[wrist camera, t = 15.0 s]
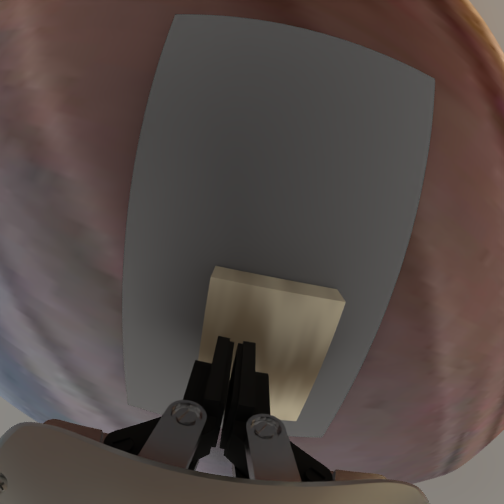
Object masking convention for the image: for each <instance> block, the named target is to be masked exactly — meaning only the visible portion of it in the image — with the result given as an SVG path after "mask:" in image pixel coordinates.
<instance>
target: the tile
mask: <svg viewBox="0 0 504 504" xmlns="http://www.w3.org/2000/svg"><path fill="white" fill-rule="evenodd" d="M345 303H346V302H345V300H344V299H343V297H342V296H341V294H340V293H339V291H338V290H337V289H333V288H328V287H322V286H317V285H311V284H306V283H301V282H295V281H290V280H285V279H280V278H275V277H269V276H264V275H259V274H254V273H249V272H244V271H239V270H234V269H229V268H224V267H219V266H215V268H214V270H213V273H212V275H211V278H210V284H209V290H208V296H207V303H206V309H205V316H204V322H203V329H202V336H201V343H200V350H199V358H198V361H203V362H207V363H212V360H213V356H214V351H215V347H216V343H217V339H218V336H222V337H227V338H230V341H231V342H234V349H233V357H232V364H231V371H232V367H233V363H234V358H235V354H236V350H237V345H238V343H241V344H243V341H248V342H253V343H256V365H255V372H262V373H268V375H269V394H270V415H272V416H275V417H276V418H278V419H280V420H287V421H297V419H298V417H299V415H300V413H301V410H302V408H303V406H304V404H305V402H306V400H307V398H308V396H309V393H310V391H311V389H312V387H313V384H314V382H315V380H316V378H317V375H318V373H319V371H320V368H321V366H322V364H323V361H324V359H325V356H326V354H327V351H328V349H329V346H330V344H331V341H332V339H333V336H334V333H335V331H336V328H337V325H338V323H339V320H340V317H341V314H342V312H343V309H344V306H345ZM230 376H231V372H230ZM229 380H230V379H229Z"/></svg>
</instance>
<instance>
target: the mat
mask: <svg viewBox="0 0 504 504" xmlns="http://www.w3.org/2000/svg"><path fill="white" fill-rule="evenodd" d="M434 92H435V79H434V78H432V77H430V76H428V75H426V74H424V73H423V72H421V71H419V70H417V69H415V68H413V67H411V66H408V65H406V64H404V63H402V62H400V61H398V60H396V59H393V58H391V57H389V56H386V55H384V54H381V53H379V52H377V51H374V50H371V49H369V48H366V47H363V46H361V45H358V44H355V43H352V42H349V41H346V40H343V39H340V38H337V37H333V36H330V35H327V34H323V33H319V32H316V31H312V30H308V29H304V28H299V27H295V26H290V25H285V24H280V23H275V22H269V21H263V20H256V19H249V18H240V17H230V16H218V15H195V14H175V17H174V19H173V22H172V25H171V27H170V30H169V33H168V36H167V38H166V41H165V44H164V47H163V50H162V53H161V56H160V59H159V63H158V66H157V69H156V72H155V76H154V79H153V83H152V87H151V90H150V94H149V98H148V102H147V106H146V110H145V114H144V118H143V123H142V127H141V132H140V137H139V142H138V147H137V152H136V158H135V164H134V170H133V176H132V182H131V189H130V197H129V205H128V214H127V223H126V234H125V246H124V262H123V288H122V330H123V355H124V370H125V382H126V393H127V402H128V405H131V406H134V407H137V408H141V409H144V410H147V411H150V412H154V413H157V414H161V415H163V414H164V412H165V410H166V409H167V407H168V406H169V405H170V404H171V403H173V402H175V401H178V400H183V397H184V394H185V391H186V388H187V384H188V381H189V378H190V375H191V372H192V368H193V365H194V362H195V360H198V358H199V350H200V343H201V336H202V329H203V322H204V316H205V309H206V303H207V296H208V290H209V284H210V278H211V275H212V273H213V270H214V268H215V266H219V267H224V268H229V269H234V270H239V271H244V272H249V273H254V274H259V275H264V276H269V277H275V278H280V279H285V280H290V281H295V282H301V283H306V284H311V285H317V286H322V287H328V288H333V289H337V290H338V291H339V293H340V294H341V296H342V297H343V299H344V300H345V302H346V303H345V306H344V309H343V312H342V314H341V317H340V320H339V323H338V325H337V328H336V331H335V333H334V336H333V339H332V341H331V344H330V346H329V349H328V351H327V354H326V356H325V359H324V361H323V364H322V366H321V368H320V371H319V373H318V375H317V378H316V380H315V382H314V384H313V387H312V389H311V391H310V393H309V396H308V398H307V400H306V402H305V404H304V406H303V408H302V410H301V413H300V415H299V417H298V419H297V421H287V420H281V421H282V422H283V424H284V426H285V428H286V431H287V435H288V436H295V437H322V436H323V435H324V433H325V432H326V430H327V428H328V427H329V425H330V423H331V422H332V420H333V418H334V417H335V415H336V413H337V412H338V410H339V408H340V406H341V404H342V403H343V401H344V399H345V397H346V395H347V393H348V392H349V390H350V388H351V386H352V384H353V382H354V380H355V378H356V376H357V374H358V372H359V370H360V368H361V366H362V364H363V362H364V360H365V358H366V355H367V353H368V351H369V349H370V347H371V344H372V342H373V340H374V338H375V335H376V333H377V331H378V328H379V326H380V323H381V321H382V319H383V316H384V313H385V311H386V308H387V306H388V303H389V300H390V298H391V295H392V292H393V290H394V287H395V284H396V281H397V278H398V275H399V272H400V269H401V266H402V263H403V260H404V256H405V253H406V250H407V246H408V243H409V239H410V236H411V232H412V228H413V224H414V221H415V217H416V212H417V208H418V204H419V199H420V195H421V190H422V185H423V180H424V175H425V169H426V164H427V157H428V151H429V144H430V136H431V128H432V118H433V107H434ZM223 418H224V415H223ZM222 426H223V419H222V423H221V427H220V428H222Z"/></svg>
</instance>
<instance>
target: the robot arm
mask: <svg viewBox="0 0 504 504" xmlns="http://www.w3.org/2000/svg"><path fill="white" fill-rule="evenodd" d="M233 349H234V342H231V341H230V338H227V337H222V336H218V339H217V343H216V347H215V351H214V356H213V360H212V363H207V362H203V361H198V360H195V362H194V365H193V368H192V372H191V375H190V378H189V381H188V384H187V388H186V391H185V394H184V397H183V400H178V401H175V402H173V403H171V404H170V405H169V406H168V407H167V409H166V410H165V412H164V414H163V415H162V417H159V418H156V419H153V420H150V421H147V422H144V423H140V424H137V425H134V426H130V427H127V428H124V429H120V430H116V431H114V432H111V433H109V434H108V433H103V432H102V430H99V429H94V428H90V427H85V426H81V425H77V424H73V423H69V422H65V421H62V420H57V419H51V420H47V421H46V422H44V423H43V424H42V423H35V422H24V423H19V424H17V425H14V426H13V427H11V428H10V429H9V430H8V431H7V432H6V433H5V434H4V435H2V436H1V438H0V504H430V503H429V501H428V499H427V497H426V496H425V494H424V493H423V492H422V491H421V490H420V489H419V488H418V487H417V486H415V485H413V484H410V483H407V482H403V481H397V480H390V479H387V478H386V477H384V476H382V475H379V474H372V473H361V472H352V471H343V470H335V471H330V470H329V469H328V468H327V467H325V466H324V465H323V464H321V463H320V462H318V461H317V460H315V459H314V458H313V457H311V456H310V455H308V454H307V453H305V452H304V451H303V450H301V449H300V448H299V447H297V446H296V445H295V444H293V443H292V442H291V441H289V438H288V435H287V431H286V428H285V426H284V424H283V422H282V421H281V420H280V419H278V418H276V417H275V416H272V415H270V394H269V375H268V373H262V372H255V365H256V343H253V342H248V341H243V344H241V343H238V345H237V350H236V354H235V358H234V363H233V367H232V371H231V364H232V357H233ZM230 372H231V376H230ZM229 379H230V380H229ZM223 415H224V418H223ZM222 419H223V426H222V434H221V441H220V448H221V449H224V456H226V458H227V459H228V460H229V461H230V462H232V475H233V477H228V476H221V475H215V474H209V473H203V472H198V471H195V470H196V468H197V465H198V463H199V459H200V458H202V457H204V456H206V455H208V454H209V453H210V449H211V447H216V444H217V440H218V435H219V431H220V427H221V423H222Z"/></svg>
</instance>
